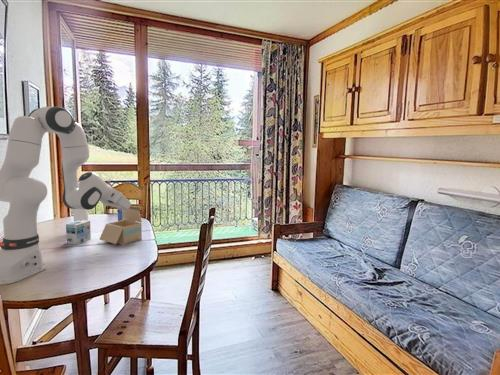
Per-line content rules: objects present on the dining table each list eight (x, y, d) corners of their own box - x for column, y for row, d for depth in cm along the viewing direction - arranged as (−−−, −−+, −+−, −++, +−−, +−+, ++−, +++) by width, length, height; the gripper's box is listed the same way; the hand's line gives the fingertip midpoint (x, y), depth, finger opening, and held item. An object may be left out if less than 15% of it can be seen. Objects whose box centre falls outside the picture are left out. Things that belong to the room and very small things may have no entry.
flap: (138, 207, 171) (138, 207, 171) (122, 204, 177) (123, 204, 177) (141, 222, 173) (141, 222, 174) (125, 219, 180) (126, 218, 180)
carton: (116, 246, 160) (115, 229, 159) (99, 242, 167) (98, 225, 166) (141, 239, 174) (141, 222, 173) (125, 234, 181) (124, 219, 180)
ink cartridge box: (130, 224, 205) (130, 203, 203) (136, 225, 202) (135, 204, 200) (117, 227, 196) (116, 205, 194) (122, 229, 193) (122, 206, 191)
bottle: (72, 231, 185) (69, 181, 181) (86, 229, 191) (84, 181, 187) (76, 234, 180) (74, 183, 176) (91, 231, 186) (89, 182, 182)
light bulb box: (77, 245, 161) (76, 225, 160) (66, 243, 162) (65, 224, 161) (91, 239, 172) (90, 220, 170) (80, 238, 173) (80, 219, 171)
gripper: (90, 197, 164) (108, 212, 174) (115, 202, 154) (132, 217, 164) (98, 188, 167) (114, 202, 177) (123, 192, 157) (139, 207, 167)
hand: (123, 209), depth 170 cm, fingers closed
